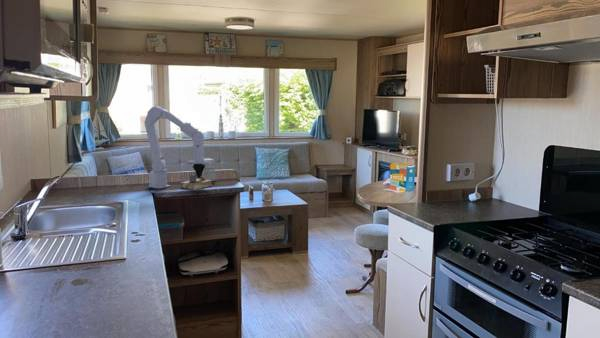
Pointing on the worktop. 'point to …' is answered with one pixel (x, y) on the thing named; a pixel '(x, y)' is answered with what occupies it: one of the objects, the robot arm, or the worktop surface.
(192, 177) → the steel peg
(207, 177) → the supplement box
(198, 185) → the hitch block
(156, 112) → the robot arm
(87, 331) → the worktop surface
